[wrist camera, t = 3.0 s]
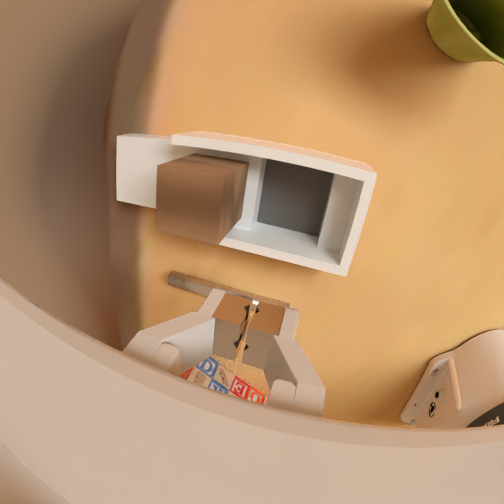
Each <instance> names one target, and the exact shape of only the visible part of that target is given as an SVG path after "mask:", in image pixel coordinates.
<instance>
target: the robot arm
mask: <svg viewBox="0 0 504 504" xmlns="http://www.w3.org/2000/svg"><path fill="white" fill-rule="evenodd" d="M252 306H253V299H252V298H249V297H246V296H242V295H239V294H236V293H232V292H229V291H228V292H227V291H225V290H222V289H219V288H214V289H212V291H211V292H210V294H209V295H208V296H207V298H206V299H205V301H204V302H203V304H202V305H201V307H200V308H199V310H198V311H197V312H194V311H193V312H190V313H187V314H185V315H182V316H179V317H177V318H174V319H171V320H168V321H166V322H163V323H160V324H158V325H155V326H152V327H149V328H146V329H144V330H141V331H139V332H138V333H137V334H136V336H135V337H134V338H133V339H132V340H131V342H130V343H129V344H128V345H127V346H126V348H125V349H124V350H123V351H122V352H121V351H118V350H116V349H114V348H112V347H110V346H108V345H106V344H104V343H102V342H101V341H99V340H97V339H95V338H93V337H91V336H89V335H88V334H86V333H84V332H82V331H80V330H79V329H77V328H75V327H73V326H72V325H70V324H68V323H66V322H65V321H63V320H62V319H60V318H58V317H57V316H55V315H53V314H52V313H50V312H49V311H47V310H45V309H44V308H42V307H41V306H39V305H38V304H36V303H34V302H33V301H32V300H30V299H29V298H27V297H26V296H25V295H23V294H22V293H20V292H19V291H17V290H16V289H15V288H13V287H12V286H11V285H9V284H8V283H7V282H5V281H4V280H3V279H1V278H0V504H504V330H503V329H498V330H492V331H488V332H485V333H482V334H480V335H478V336H476V337H474V338H472V339H470V340H469V341H467V342H465V343H464V344H462V345H461V346H459V347H458V348H456V349H454V350H453V351H449V352H446V353H443V354H441V355H438V356H436V357H434V358H433V359H432V360H431V361H430V363H429V365H428V367H427V369H426V371H425V373H424V374H423V376H422V378H421V380H420V382H419V384H418V385H417V387H416V389H415V391H414V393H413V394H412V396H411V398H410V399H409V401H408V403H407V404H406V406H405V408H404V409H403V411H402V412H401V414H400V417H401V420H402V421H403V422H405V423H407V424H410V425H414V426H416V428H407V427H392V426H380V425H371V424H362V423H354V422H347V421H340V420H334V419H328V418H323V410H324V402H325V393H326V388H325V387H324V385H323V383H322V381H321V380H320V378H319V376H318V375H317V373H316V371H315V370H314V368H313V366H312V364H311V363H310V361H309V359H308V358H307V356H306V354H305V353H304V351H303V349H302V347H301V346H300V344H299V342H298V341H295V340H294V338H295V333H296V328H297V323H298V318H299V313H300V311H299V310H297V309H292V308H288V307H282V306H278V305H274V304H270V303H267V302H263V301H259V302H258V305H257V308H256V312H255V314H253V317H252V319H251V322H250V315H249V314H250V312H251V309H252ZM285 308H286V309H285ZM249 322H250V324H249ZM248 326H249V327H248ZM247 330H248V331H247ZM246 333H247V336H246V341H245V342H246V343H247V344H246V346H245V349H244V352H243V358H242V363H244V364H247V365H251V366H254V367H257V368H260V369H264V373H265V376H266V379H267V382H268V385H269V388H270V393H269V396H268V399H267V402H266V404H265V405H264V404H260V403H257V402H253V401H249V400H246V399H242V398H239V397H236V396H232V395H229V394H226V393H223V392H220V391H217V390H214V389H211V388H208V387H205V386H202V385H199V384H197V383H194V382H191V381H188V380H186V379H183V378H181V374H183V373H184V372H186V371H188V370H189V369H191V368H193V367H194V366H196V365H198V364H199V363H201V362H203V361H204V360H206V359H208V358H209V357H211V356H212V355H213V354H214V355H217V356H220V357H224V358H227V359H231V360H234V361H235V359H236V357H237V355H238V352H239V350H240V347H241V342H242V341H243V340H244V338H245V335H246Z"/></svg>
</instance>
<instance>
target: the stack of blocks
mask: <svg viewBox="0 0 504 504" xmlns="http://www.w3.org/2000/svg"><path fill="white" fill-rule="evenodd" d="M181 378H183V379H186V380H188V381H191V382H194V383H197V384H199V385H202V386H205V387H208V388H211V389H214V390H217V391H220V392H223V393H226V394H229V395H232V396H236V397H239V398H242V399H246V400H249V401H253V402H257V403H260V404H264V405H265V404H266V402H267V399H268V397H267V396H264V395H263V394H262V393H260V392H258V391H257V390H256V389H254V388H253V387H251V386H249V385H248V384H246V383H245V382H244V381H242V380H241V379H239V378H238V377H237V376H235V375H234V374H233V373H231V372H230V371H228V370H227V369H226V368H224V367H223V366H222V365H220V364H219V363H218V362H216V361H215V360H214V359H212V358H211V357H209V358H208V359H206V360H204V361H203V362H201V363H199V364H198V365H196V366H194V367H193V368H191V369H189V370H188V371H186V372H184V373H183V374H181Z"/></svg>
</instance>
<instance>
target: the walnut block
mask: <svg viewBox="0 0 504 504" xmlns="http://www.w3.org/2000/svg"><path fill="white" fill-rule="evenodd" d="M248 168H249V162H246V161H240V160H234V159H228V158H222V157H216V156H209V155H202V154H195V153H194V154H191V155H187V156H184V157H181V158H178V159H175V160H172V161H169V162H166V163H163V164H160V165H157V182H156V231H160V232H164V233H168V234H172V235H176V236H180V237H183V238H187V239H191V240H195V241H199V242H203V243H207V244H211V245H215V246H217V245H218V244H219V243H220V242H221V241H222V240H223V238H224V237H225V236H226V235H227V234H228V233H229V231H230V230H231V229H232V228H233V227H234V226H235V224H236V223H237V222H238V221H239V220H240V219H241V218H242V210H243V203H244V196H245V189H246V182H247V175H248Z"/></svg>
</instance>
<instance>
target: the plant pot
mask: <svg viewBox="0 0 504 504" xmlns="http://www.w3.org/2000/svg"><path fill="white" fill-rule="evenodd" d="M457 15H459V16H460V17H462V18H463V19H464V20H465V21H466V22H467V23H468V25H466V23H464V22H463V21H462V20H461V19H460V18H459V17H457ZM426 24H427V27H428V30H429V33H430V35H431V38H432V40H433V41H434V43H435V44H436V45H437V46H438V47H439V48H440V49H441V50H442V51H443V52H444V53H445V54H446V55H448V56H449V57H451V58H453V59H455V60H458V61H462V62H480V61H496V62H499V63H501V64H503V65H504V0H433V2H432V5H431V7H430V9H429V11H428V13H427V17H426Z"/></svg>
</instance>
